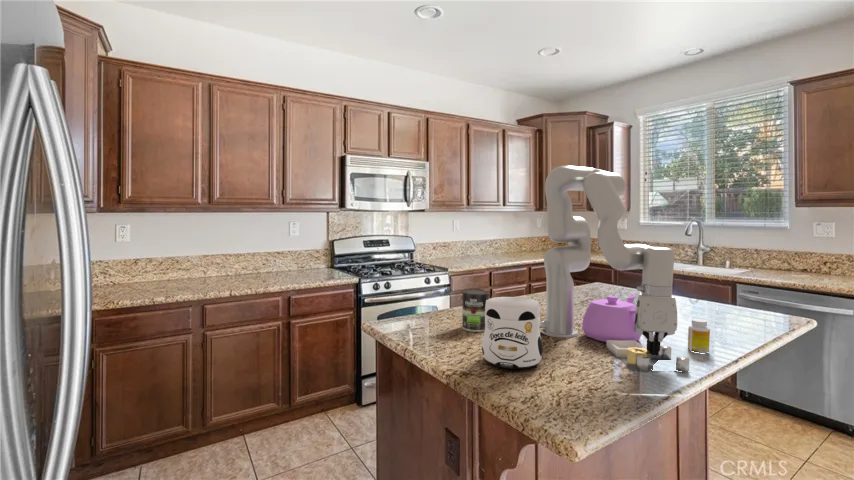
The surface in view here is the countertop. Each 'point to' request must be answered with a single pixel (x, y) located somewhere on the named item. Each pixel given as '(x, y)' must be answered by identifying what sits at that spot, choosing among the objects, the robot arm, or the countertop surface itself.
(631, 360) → the nut
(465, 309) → the coffee can
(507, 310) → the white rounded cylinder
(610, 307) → the teapot
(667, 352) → the spacers
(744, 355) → the countertop surface
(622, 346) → the dish
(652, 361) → the mat
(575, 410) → the countertop surface
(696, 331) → the supplement bottle
